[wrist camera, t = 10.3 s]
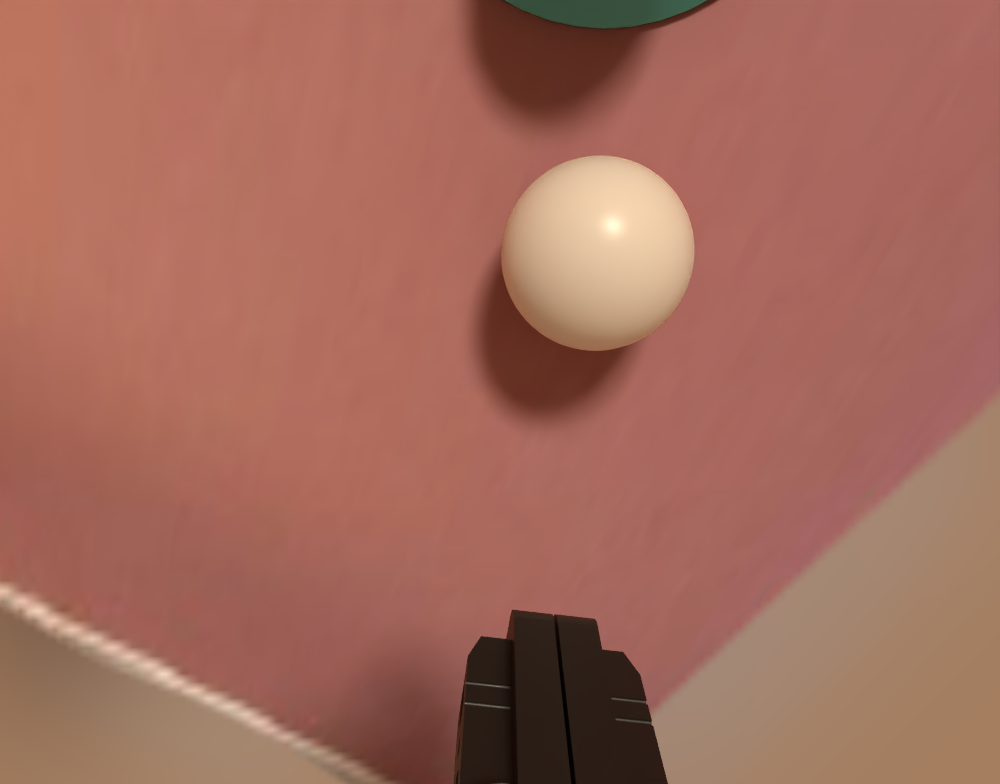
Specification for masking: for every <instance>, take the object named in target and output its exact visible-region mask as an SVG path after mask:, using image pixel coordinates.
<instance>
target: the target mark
mask: <svg viewBox="0 0 1000 784" xmlns="http://www.w3.org/2000/svg"><path fill="white" fill-rule="evenodd" d="M504 1H506V2H508V3H510V4H511V5H513V6H515V7H517V8H519V9H520V10H523V11H525V12H528V13H530V14H533V15H535V16H538V17H541V18H543V19H546V20H549V21H553V22H558V23H562V24H566V25H571V26H575V27H587V28H600V29H607V28H622V27H633V26H638V25H643V24H647V23H652V22H657V21H661V20H664V19H666V18H669V17H672V16H675V15H677V14H680V13H683V12H685V11H688V10H690V9H692V8H694V7H696V6H698V5H700V4H702V3H703V2H705V1H707V0H504Z"/></svg>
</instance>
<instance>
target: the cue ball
mask: <svg viewBox="0 0 1000 784" xmlns="http://www.w3.org/2000/svg"><path fill="white" fill-rule="evenodd" d="M693 264H694V237H693V231H692V227H691V223H690V220H689V217H688V214H687V212H686V210H685V208H684V206H683V204H682V202H681V201H680V199H679V197H678V196H677V194H676V193H675V192H674V190H673V189H672V188H671V187H670V186H669V185H668V184H667V183H666V182H665V181H664V180H663V179H662V178H661V177H660V176H658V175H657V174H656V173H654V172H653V171H651V170H650V169H648V168H647V167H645V166H643V165H641V164H639V163H636V162H633V161H631V160H627V159H623V158H619V157H613V156H599V155H598V156H587V157H581V158H577V159H574V160H570V161H567V162H565V163H562V164H560V165H557V166H556V167H554V168H552V169H550V170H549V171H547V172H546V173H544V174H543V175H542V176H540V177H539V178H537V179H536V180H535V181H534V182H533V183H532V184H531V185H530V186H529V187H528V188H527V189H526V191H525V192H524V193H523V194H522V195H521V197H520V198H519V200H518V201H517V203H516V205H515V206H514V208H513V210H512V212H511V213H510V216H509V219H508V221H507V224H506V227H505V230H504V235H503V241H502V247H501V265H502V272H503V277H504V281H505V285H506V288H507V291H508V293H509V295H510V297H511V299H512V301H513V303H514V305H515V307H516V308H517V310H518V311H519V312H520V314H521V315H522V316H523V318H524V319H525V320H526V321H527V322H528V323H529V324H530V325H531V326H532V327H533V328H534V329H536V330H537V331H538V332H539V333H541V334H542V335H544V336H545V337H547V338H549V339H551V340H552V341H554V342H556V343H558V344H561V345H564V346H567V347H571V348H575V349H580V350H587V351H603V350H611V349H616V348H620V347H624V346H627V345H630V344H632V343H635V342H637V341H639V340H640V339H642V338H644V337H646V336H648V335H649V334H651V333H652V332H654V331H655V330H656V329H657V328H658V327H660V326H661V325H662V324H663V323H664V322H665V321H666V320H667V319H668V318H669V316H670V315H671V314H672V313H673V312H674V310H675V309H676V308H677V306H678V305H679V303H680V301H681V299H682V298H683V296H684V294H685V292H686V289H687V287H688V284H689V281H690V278H691V275H692V270H693Z"/></svg>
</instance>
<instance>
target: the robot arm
mask: <svg viewBox="0 0 1000 784" xmlns="http://www.w3.org/2000/svg"><path fill="white" fill-rule="evenodd" d="M651 722H652V720H651V716H650V712H649V708H648V705H646V696H645V692H644V688H643V684H642V680H641V676H640V674H639V673H638V671H637V670H636V669H635V667H634V666H633V665H632V663H631V662H630V661H629V659H628V658H627V657H626V655H625V654H624V653H623V652H618V651H609V650H602V646H601V641H600V636H599V631H598V626H597V622H596V620H595V619H591V618H582V617H574V616H565V615H556V614H555V615H554V617H553V615H552V614H546V613H537V612H528V611H519V610H512V612H511V616H510V621H509V627H508V633H507V639H500V638H492V637H483V636H481V637H480V639H479V640H478V642H477V643H476V645H475V646H474V648H473V649H472V651H471V652H470V654H469V655H468V659H467V666H466V673H465V679H464V686H463V693H462V700H461V706H460V713H459V720H458V731H457V744H456V757H455V773H454V784H668V783H667V779H666V775H665V771H664V767H663V763H662V759H661V755H660V751H659V747H658V743H657V739H656V736H655V731H654V727H653V726H652V725H651Z"/></svg>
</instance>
